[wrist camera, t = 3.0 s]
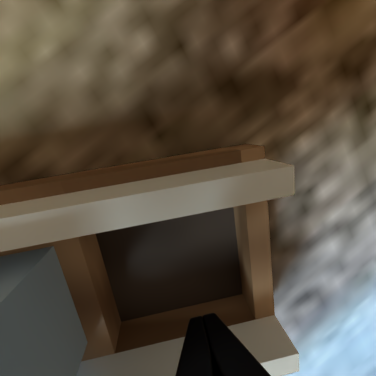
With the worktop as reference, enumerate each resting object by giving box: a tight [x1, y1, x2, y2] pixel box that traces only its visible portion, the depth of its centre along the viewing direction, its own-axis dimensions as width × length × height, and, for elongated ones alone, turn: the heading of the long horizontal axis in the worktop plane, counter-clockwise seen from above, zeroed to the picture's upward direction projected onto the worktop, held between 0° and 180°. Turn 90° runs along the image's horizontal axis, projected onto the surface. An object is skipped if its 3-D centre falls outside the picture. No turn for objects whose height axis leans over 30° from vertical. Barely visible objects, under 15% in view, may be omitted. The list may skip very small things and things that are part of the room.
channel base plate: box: [0, 144, 275, 362], centre depth 10 cm, size 10×25×2 cm, turn 99°
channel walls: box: [0, 159, 299, 376], centre depth 9 cm, size 9×14×2 cm, turn 99°
